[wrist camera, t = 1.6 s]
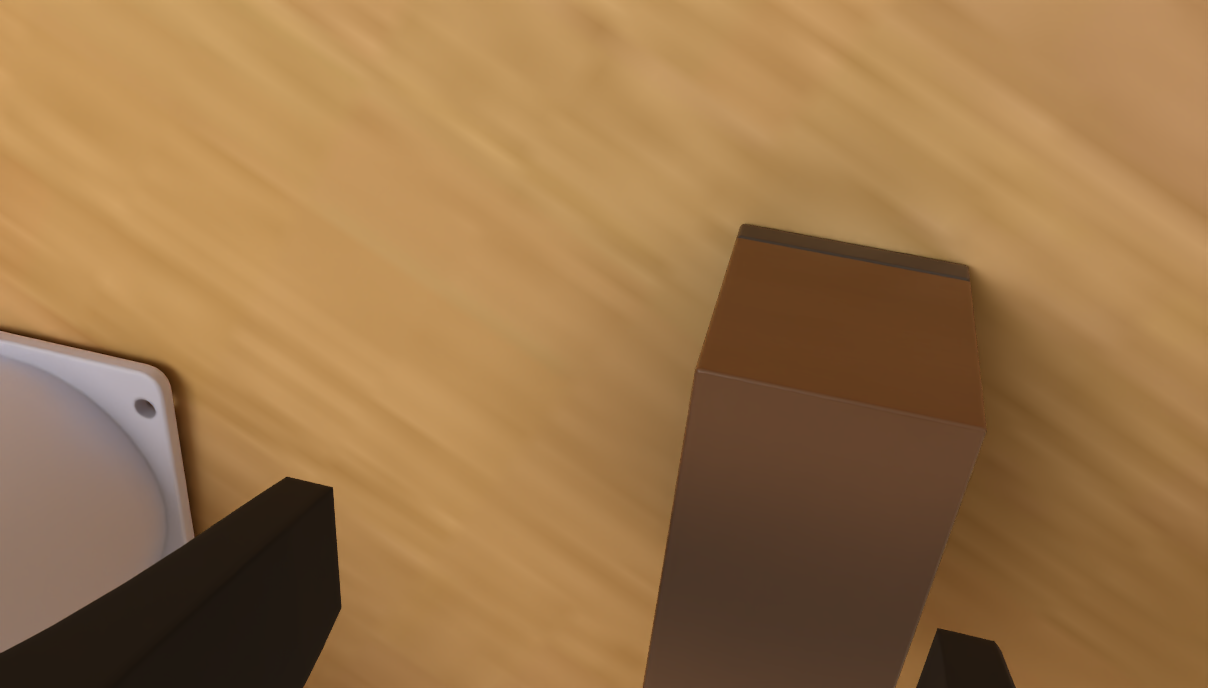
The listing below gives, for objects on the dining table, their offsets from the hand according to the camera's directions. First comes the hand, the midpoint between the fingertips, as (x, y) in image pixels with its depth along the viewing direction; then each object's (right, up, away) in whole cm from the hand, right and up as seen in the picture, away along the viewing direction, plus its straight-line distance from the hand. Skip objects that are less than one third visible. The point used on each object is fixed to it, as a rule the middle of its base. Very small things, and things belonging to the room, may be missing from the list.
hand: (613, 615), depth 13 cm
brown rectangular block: (+4, +2, +8) cm, 9 cm away
